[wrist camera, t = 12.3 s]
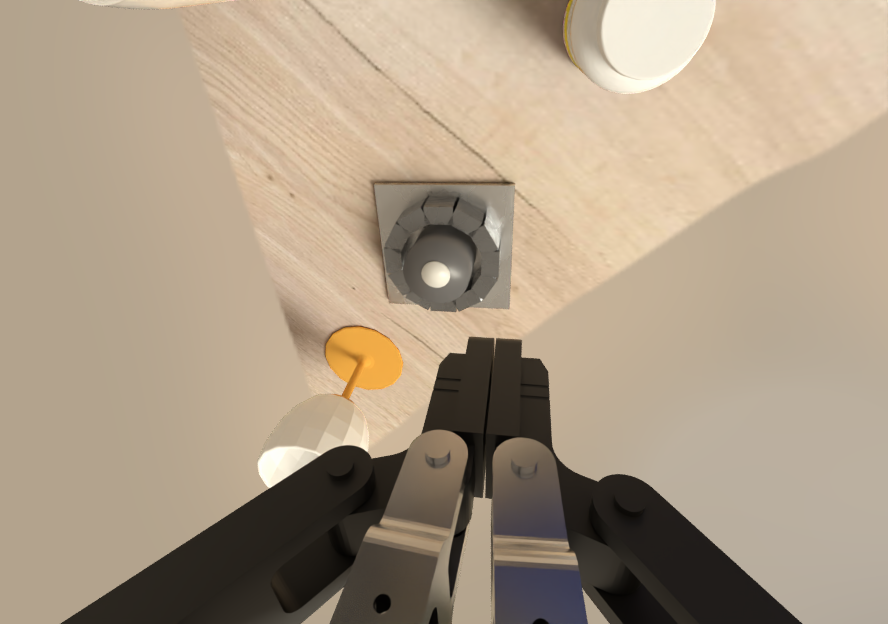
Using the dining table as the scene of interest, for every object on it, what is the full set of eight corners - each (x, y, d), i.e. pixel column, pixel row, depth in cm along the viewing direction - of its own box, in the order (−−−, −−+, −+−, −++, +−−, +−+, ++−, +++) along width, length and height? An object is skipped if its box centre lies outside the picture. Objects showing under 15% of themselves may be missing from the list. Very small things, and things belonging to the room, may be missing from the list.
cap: (411, 223, 40) (397, 245, 36) (473, 220, 38) (465, 242, 34) (421, 278, 43) (408, 304, 39) (478, 277, 41) (472, 303, 37)
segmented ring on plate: (375, 182, 39) (364, 194, 36) (515, 183, 37) (513, 195, 34) (390, 300, 45) (382, 316, 43) (509, 305, 43) (508, 323, 41)
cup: (416, 380, 51) (376, 507, 37) (349, 394, 54) (291, 517, 40) (380, 317, 47) (321, 434, 33) (310, 336, 50) (231, 451, 36)
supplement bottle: (689, 0, 29) (783, -12, 18) (616, 96, 32) (658, 133, 22) (607, -67, 28) (656, -121, 17) (541, 40, 31) (547, 51, 21)
